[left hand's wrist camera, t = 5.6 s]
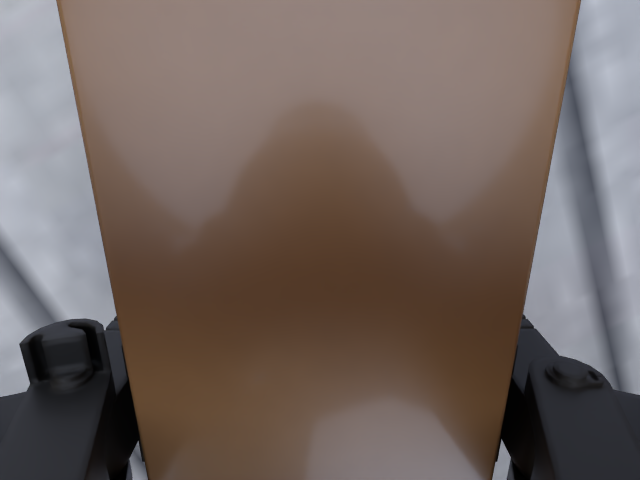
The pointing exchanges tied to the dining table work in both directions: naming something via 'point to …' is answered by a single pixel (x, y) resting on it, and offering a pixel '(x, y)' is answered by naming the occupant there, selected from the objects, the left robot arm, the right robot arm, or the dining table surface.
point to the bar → (319, 223)
